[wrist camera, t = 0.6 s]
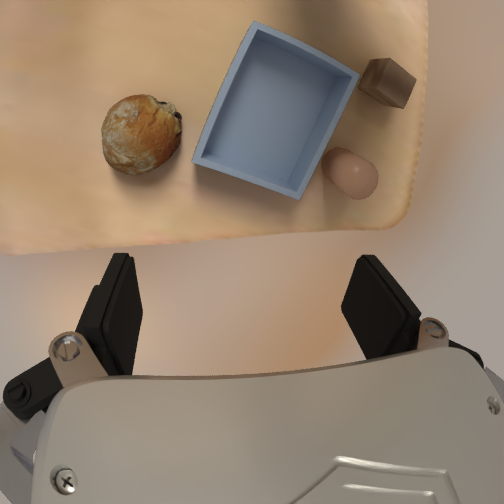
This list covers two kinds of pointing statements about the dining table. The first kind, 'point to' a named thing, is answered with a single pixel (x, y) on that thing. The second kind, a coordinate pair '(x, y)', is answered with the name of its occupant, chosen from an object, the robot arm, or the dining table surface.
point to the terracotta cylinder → (350, 173)
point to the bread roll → (140, 134)
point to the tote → (274, 111)
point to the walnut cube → (387, 82)
